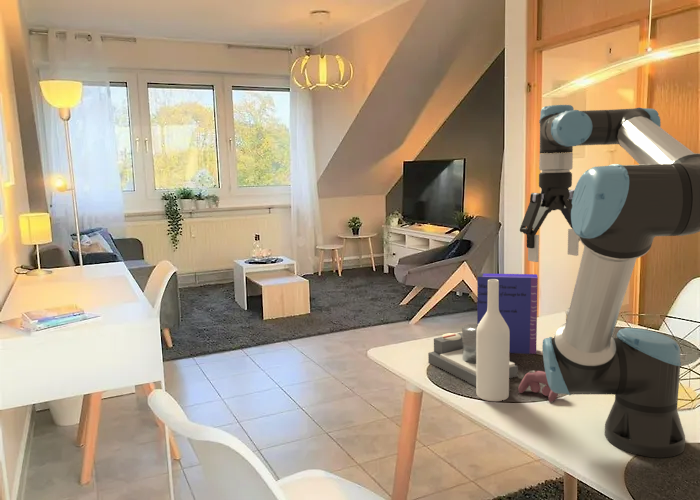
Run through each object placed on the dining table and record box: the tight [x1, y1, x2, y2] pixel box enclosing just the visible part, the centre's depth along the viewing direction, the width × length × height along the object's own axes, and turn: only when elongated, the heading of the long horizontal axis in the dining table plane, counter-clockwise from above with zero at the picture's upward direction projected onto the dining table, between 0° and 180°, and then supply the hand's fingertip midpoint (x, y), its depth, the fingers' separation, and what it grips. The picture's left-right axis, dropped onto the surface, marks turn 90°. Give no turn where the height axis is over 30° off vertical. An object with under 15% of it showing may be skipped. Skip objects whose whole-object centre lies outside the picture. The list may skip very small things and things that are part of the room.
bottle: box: [475, 279, 510, 402], centre depth 145 cm, size 8×8×30 cm
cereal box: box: [476, 273, 539, 355], centre depth 177 cm, size 17×5×24 cm, turn 76°
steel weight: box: [461, 323, 478, 364], centre depth 161 cm, size 8×8×9 cm
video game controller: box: [517, 370, 559, 403], centre depth 146 cm, size 10×5×7 cm, turn 43°
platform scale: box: [428, 332, 518, 387], centre depth 165 cm, size 23×14×8 cm, turn 28°
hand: (553, 258), depth 143 cm, fingers open, 13 cm apart
